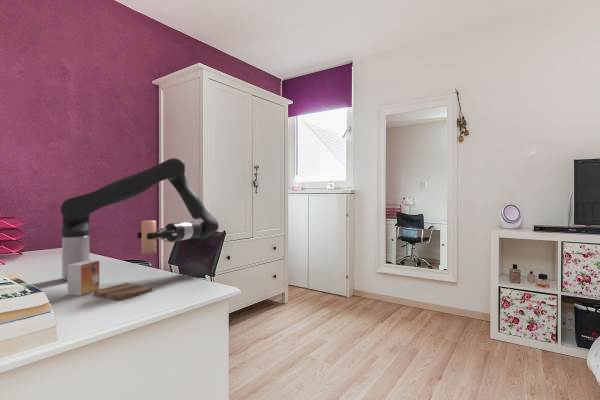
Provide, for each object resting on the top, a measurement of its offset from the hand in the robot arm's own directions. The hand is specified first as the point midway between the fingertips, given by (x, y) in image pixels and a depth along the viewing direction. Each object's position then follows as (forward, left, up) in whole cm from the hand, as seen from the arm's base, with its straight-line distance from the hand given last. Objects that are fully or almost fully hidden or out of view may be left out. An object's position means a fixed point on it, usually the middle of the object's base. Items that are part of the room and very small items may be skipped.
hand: (142, 236), depth 120 cm
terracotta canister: (0, +3, -7) cm, 7 cm away
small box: (-12, -14, -19) cm, 27 cm away
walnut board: (+1, -8, -19) cm, 21 cm away
